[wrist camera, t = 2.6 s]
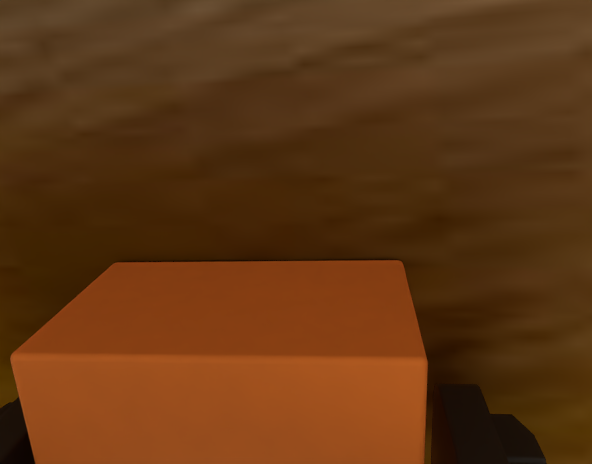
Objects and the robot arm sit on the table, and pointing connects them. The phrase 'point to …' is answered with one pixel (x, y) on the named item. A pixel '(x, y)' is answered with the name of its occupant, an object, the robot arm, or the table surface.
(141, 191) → the table surface
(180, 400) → the orange block
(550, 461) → the table surface
